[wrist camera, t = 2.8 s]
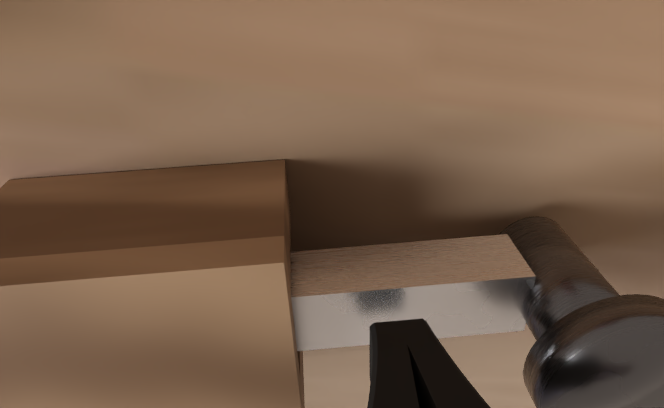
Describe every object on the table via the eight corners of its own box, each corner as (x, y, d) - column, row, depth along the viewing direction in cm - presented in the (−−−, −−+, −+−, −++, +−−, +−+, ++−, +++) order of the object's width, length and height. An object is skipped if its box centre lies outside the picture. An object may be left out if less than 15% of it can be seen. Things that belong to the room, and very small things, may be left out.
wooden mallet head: (301, 322, 18) (305, 450, 14) (79, 341, 18) (13, 478, 13) (284, 159, 15) (283, 262, 10) (9, 179, 14) (-110, 295, 10)
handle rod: (574, 290, 17) (685, 436, 12) (56, 336, 16) (-39, 511, 11) (602, 189, 15) (749, 318, 10) (9, 236, 14) (-130, 399, 9)
